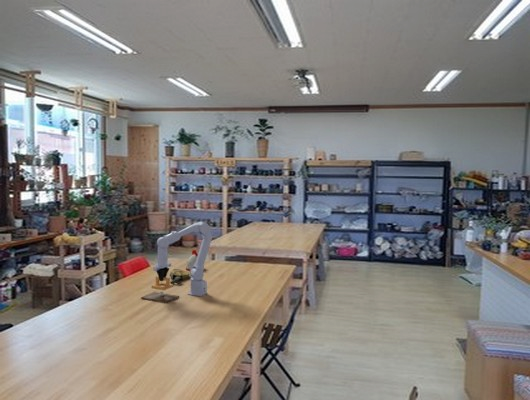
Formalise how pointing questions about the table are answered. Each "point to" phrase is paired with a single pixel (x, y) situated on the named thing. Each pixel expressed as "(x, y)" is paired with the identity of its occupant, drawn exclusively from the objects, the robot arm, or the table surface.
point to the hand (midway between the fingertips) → (162, 280)
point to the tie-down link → (162, 284)
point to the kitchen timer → (191, 260)
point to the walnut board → (158, 298)
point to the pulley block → (178, 275)
